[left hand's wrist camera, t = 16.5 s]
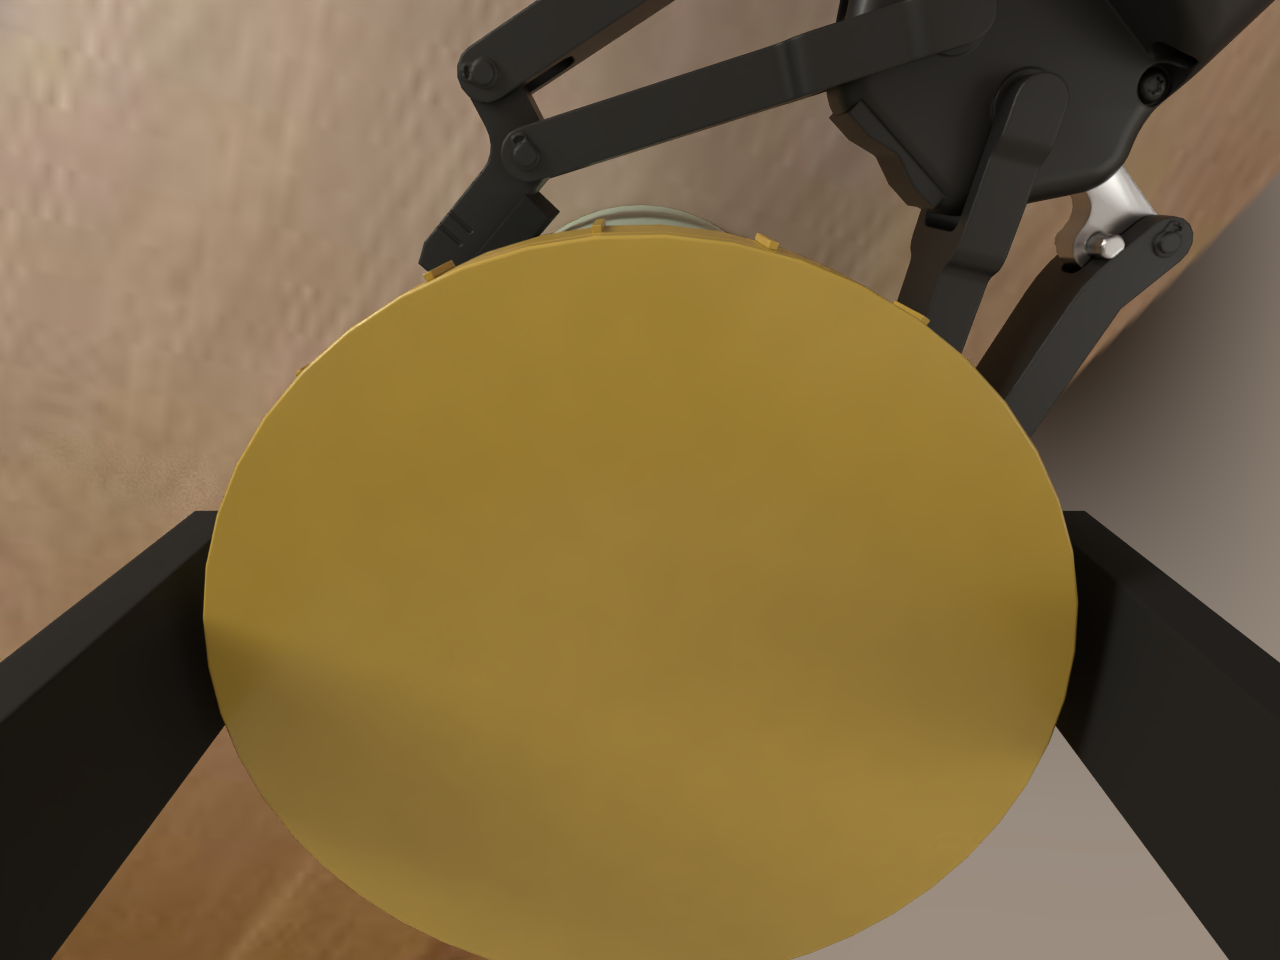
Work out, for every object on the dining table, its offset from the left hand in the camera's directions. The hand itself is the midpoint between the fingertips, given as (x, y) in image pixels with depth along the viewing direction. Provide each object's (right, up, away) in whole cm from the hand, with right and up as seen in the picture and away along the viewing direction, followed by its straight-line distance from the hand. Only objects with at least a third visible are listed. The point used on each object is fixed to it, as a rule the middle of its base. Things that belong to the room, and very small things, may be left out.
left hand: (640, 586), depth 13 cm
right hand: (-3, +1, +10) cm, 11 cm away
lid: (0, -1, -2) cm, 2 cm away
